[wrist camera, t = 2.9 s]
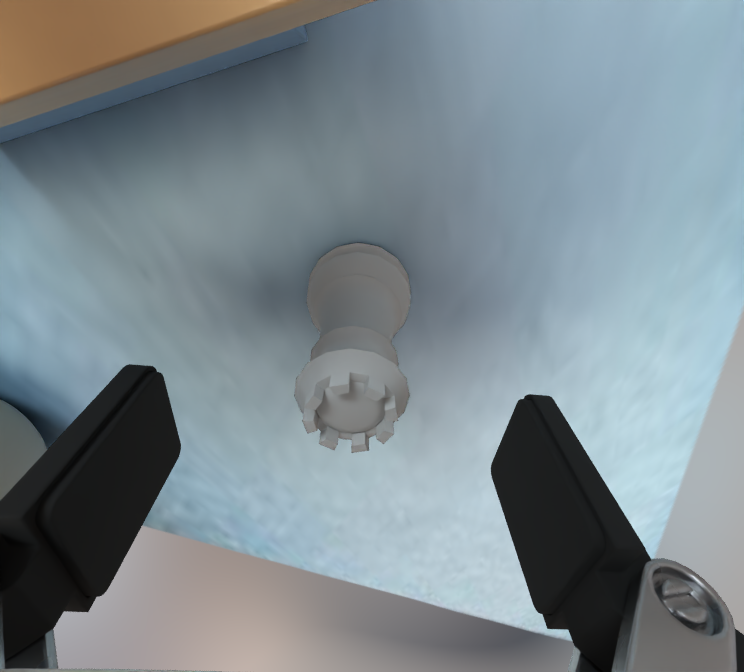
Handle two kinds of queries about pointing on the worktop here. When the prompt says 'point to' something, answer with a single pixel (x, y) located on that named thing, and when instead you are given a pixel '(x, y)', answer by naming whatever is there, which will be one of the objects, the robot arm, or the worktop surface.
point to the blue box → (156, 83)
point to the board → (125, 42)
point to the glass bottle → (16, 446)
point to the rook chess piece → (355, 347)
